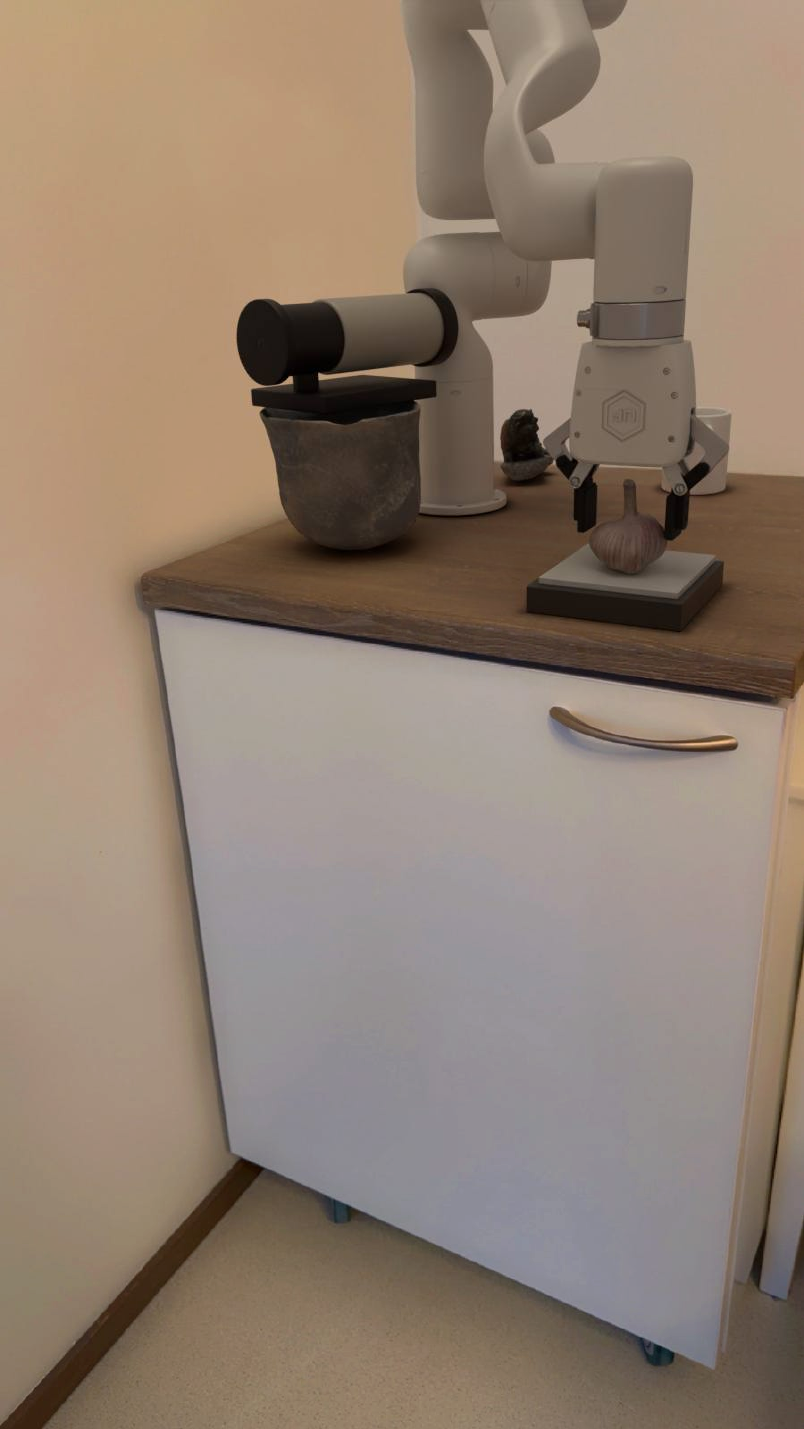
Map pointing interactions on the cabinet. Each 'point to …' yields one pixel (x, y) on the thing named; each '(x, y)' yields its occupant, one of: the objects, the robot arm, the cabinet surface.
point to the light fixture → (344, 349)
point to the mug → (716, 478)
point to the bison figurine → (523, 447)
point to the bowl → (348, 472)
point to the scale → (628, 589)
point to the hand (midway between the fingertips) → (629, 531)
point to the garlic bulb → (629, 537)
